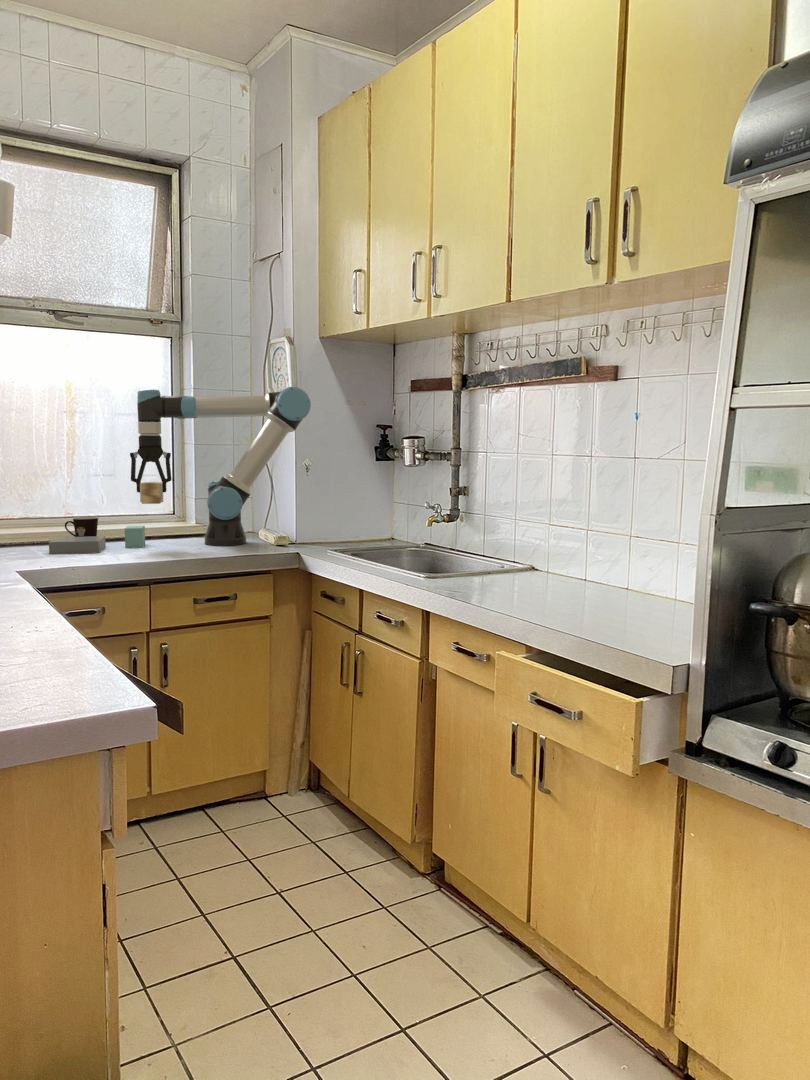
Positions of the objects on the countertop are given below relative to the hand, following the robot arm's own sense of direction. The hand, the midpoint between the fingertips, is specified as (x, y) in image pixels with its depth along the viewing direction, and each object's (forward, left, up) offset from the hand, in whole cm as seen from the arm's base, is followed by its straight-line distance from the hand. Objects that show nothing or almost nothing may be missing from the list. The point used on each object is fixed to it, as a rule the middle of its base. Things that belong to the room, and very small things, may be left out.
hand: (152, 501), depth 287 cm
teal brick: (+8, -12, -17) cm, 22 cm away
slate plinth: (+26, -3, -17) cm, 31 cm away
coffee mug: (+26, -18, -17) cm, 36 cm away
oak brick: (0, 0, 0) cm, 0 cm away
